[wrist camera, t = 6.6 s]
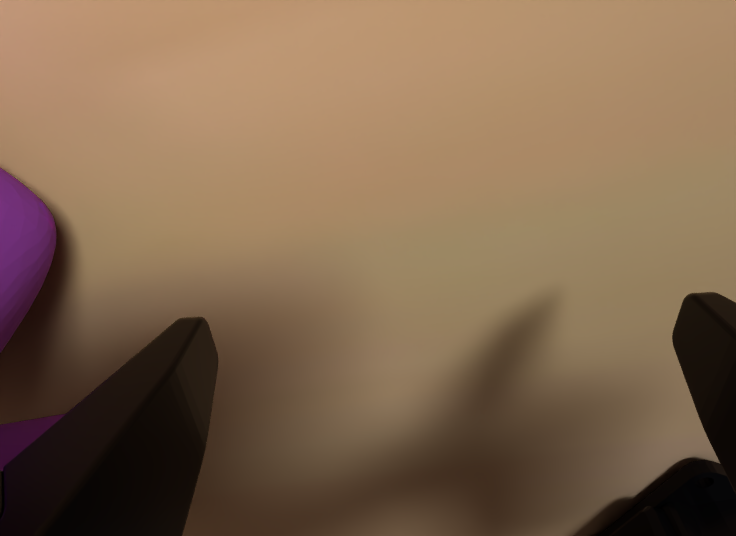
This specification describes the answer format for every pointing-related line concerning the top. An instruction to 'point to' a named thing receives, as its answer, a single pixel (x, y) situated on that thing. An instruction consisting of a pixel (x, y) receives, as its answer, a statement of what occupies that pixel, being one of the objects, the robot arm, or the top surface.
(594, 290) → the top surface
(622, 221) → the top surface
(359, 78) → the top surface
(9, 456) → the toy camera
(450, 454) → the top surface
